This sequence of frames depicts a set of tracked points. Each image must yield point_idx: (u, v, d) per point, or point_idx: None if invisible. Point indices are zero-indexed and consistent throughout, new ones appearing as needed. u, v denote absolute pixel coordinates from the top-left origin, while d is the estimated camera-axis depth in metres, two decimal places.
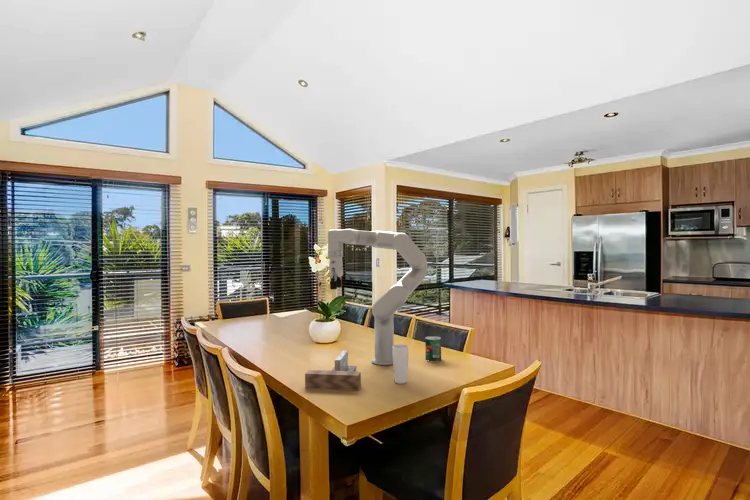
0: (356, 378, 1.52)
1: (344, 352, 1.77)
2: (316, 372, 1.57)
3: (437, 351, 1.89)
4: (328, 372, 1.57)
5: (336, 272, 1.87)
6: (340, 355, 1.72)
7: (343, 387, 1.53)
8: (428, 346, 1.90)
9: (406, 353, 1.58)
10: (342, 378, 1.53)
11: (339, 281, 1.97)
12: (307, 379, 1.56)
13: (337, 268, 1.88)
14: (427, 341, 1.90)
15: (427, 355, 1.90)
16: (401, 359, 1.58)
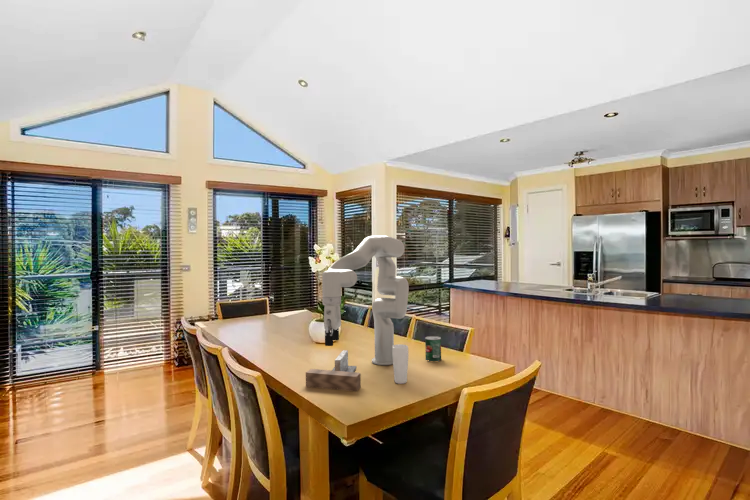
0: (354, 379, 1.51)
1: (344, 352, 1.77)
2: (317, 371, 1.58)
3: (437, 351, 1.89)
4: (328, 372, 1.57)
5: (332, 325, 1.51)
6: (340, 355, 1.72)
7: (342, 388, 1.53)
8: (428, 346, 1.90)
9: (406, 353, 1.58)
10: (341, 378, 1.53)
11: (336, 333, 1.61)
12: (307, 378, 1.57)
13: (334, 320, 1.51)
14: (427, 341, 1.90)
15: (427, 355, 1.90)
16: (401, 359, 1.58)
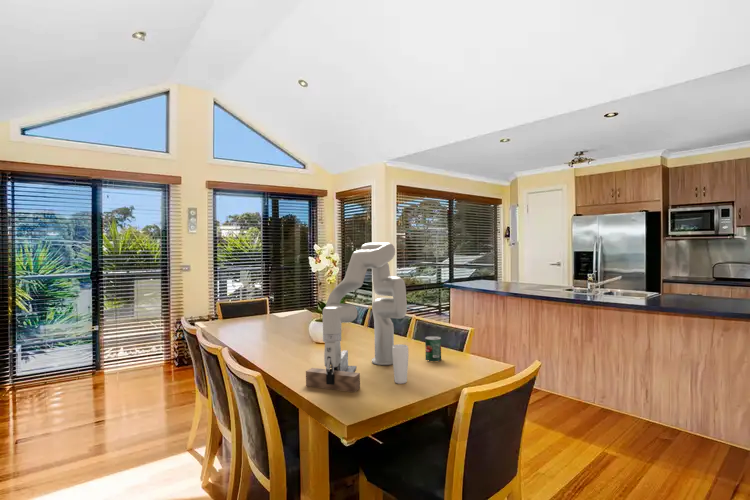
0: (353, 379, 1.50)
1: (344, 352, 1.77)
2: (317, 370, 1.58)
3: (437, 351, 1.89)
4: None
5: (333, 362, 1.51)
6: None
7: (340, 387, 1.52)
8: (428, 346, 1.90)
9: (406, 353, 1.58)
10: (340, 378, 1.52)
11: None
12: (308, 377, 1.58)
13: (334, 357, 1.51)
14: (427, 341, 1.90)
15: (427, 355, 1.90)
16: (401, 359, 1.58)
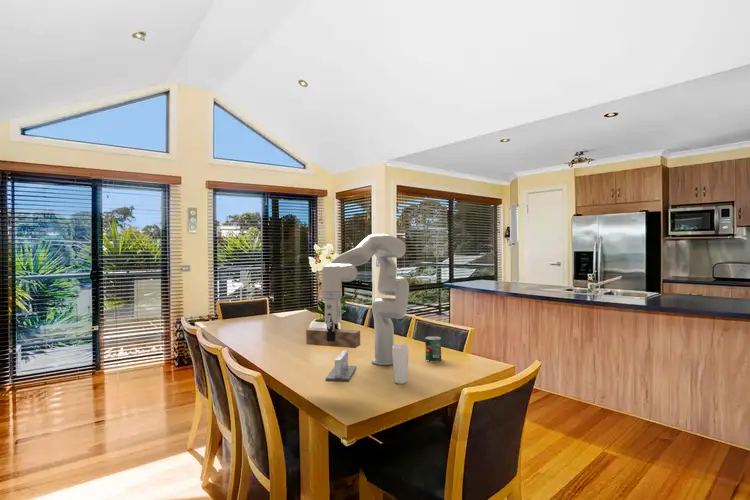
0: (353, 335, 1.51)
1: (344, 352, 1.77)
2: (317, 329, 1.59)
3: (437, 351, 1.89)
4: None
5: (333, 319, 1.52)
6: (340, 355, 1.72)
7: (341, 344, 1.53)
8: (428, 346, 1.90)
9: (406, 353, 1.58)
10: (340, 335, 1.53)
11: None
12: (308, 335, 1.58)
13: (334, 314, 1.52)
14: (427, 341, 1.90)
15: (427, 355, 1.90)
16: (401, 359, 1.58)
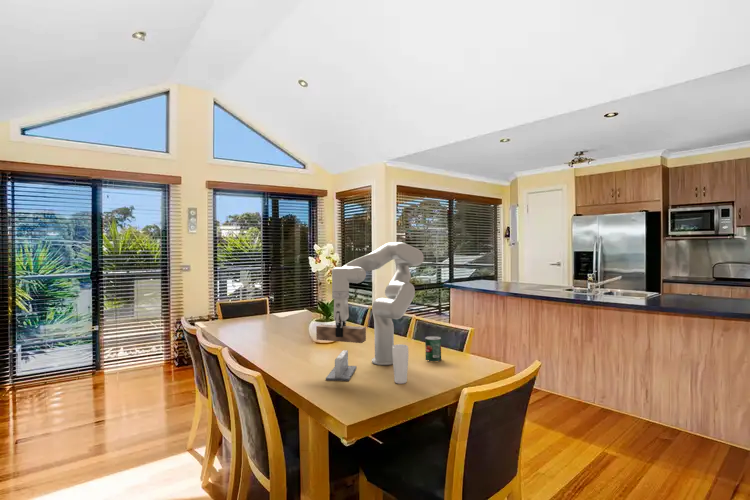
0: (360, 331, 1.66)
1: (344, 352, 1.77)
2: (326, 326, 1.74)
3: (437, 351, 1.89)
4: None
5: (341, 316, 1.67)
6: (340, 355, 1.72)
7: (348, 339, 1.68)
8: (428, 346, 1.90)
9: (406, 353, 1.58)
10: (348, 331, 1.68)
11: None
12: (318, 331, 1.73)
13: (342, 312, 1.67)
14: (427, 341, 1.90)
15: (427, 355, 1.90)
16: (401, 359, 1.58)
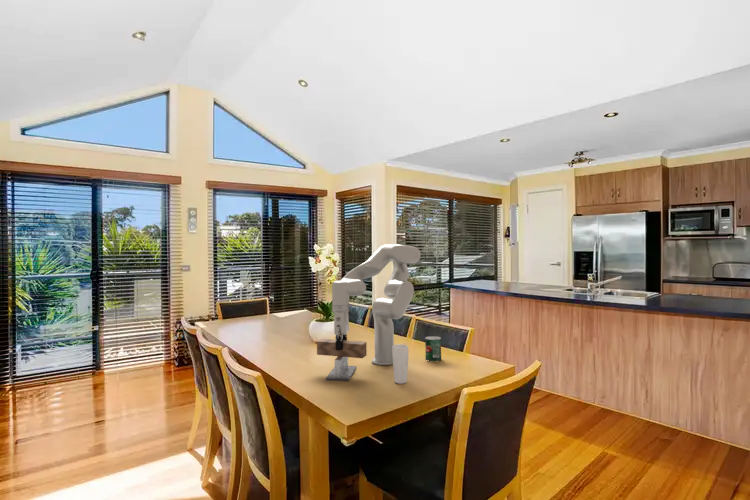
0: (361, 347, 1.67)
1: None
2: (327, 340, 1.74)
3: (437, 351, 1.89)
4: None
5: (342, 330, 1.67)
6: None
7: (349, 354, 1.69)
8: (428, 346, 1.90)
9: (406, 353, 1.58)
10: (349, 346, 1.69)
11: (344, 339, 1.76)
12: (318, 346, 1.73)
13: (343, 325, 1.67)
14: (427, 341, 1.90)
15: (427, 355, 1.90)
16: (401, 359, 1.58)
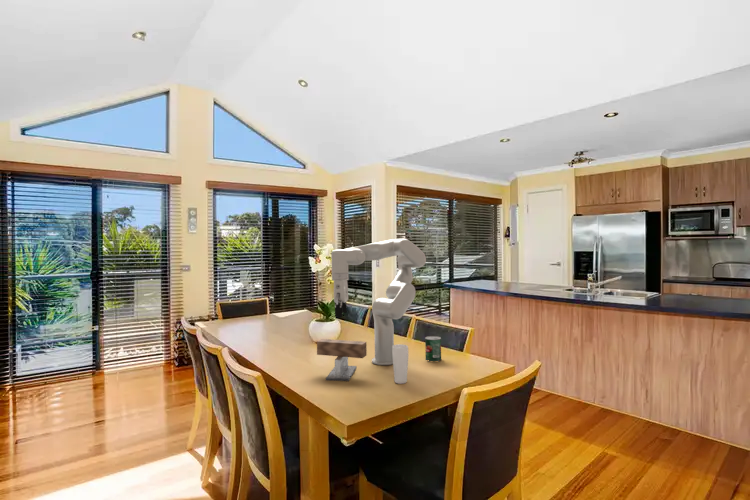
0: (361, 347, 1.67)
1: None
2: (327, 340, 1.74)
3: (437, 351, 1.89)
4: (337, 341, 1.73)
5: (341, 297, 1.69)
6: None
7: (349, 354, 1.69)
8: (428, 346, 1.90)
9: (406, 353, 1.58)
10: (349, 346, 1.69)
11: (344, 306, 1.78)
12: (318, 346, 1.73)
13: (342, 293, 1.69)
14: (427, 341, 1.90)
15: (427, 355, 1.90)
16: (401, 359, 1.58)
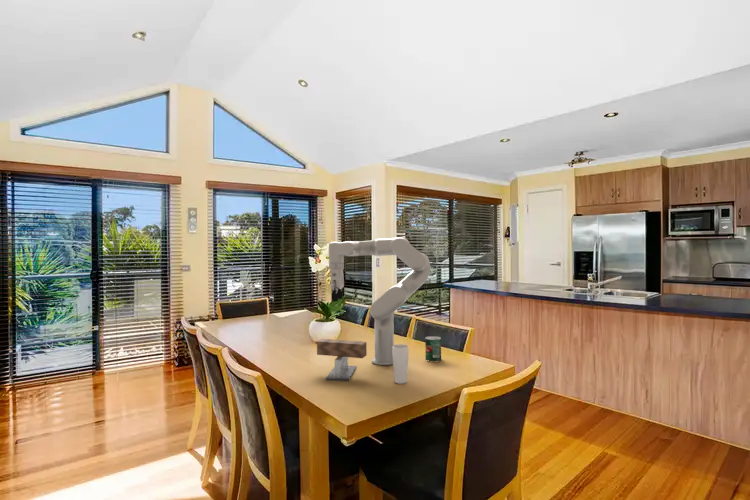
0: (361, 347, 1.67)
1: None
2: (327, 340, 1.74)
3: (437, 351, 1.89)
4: (337, 341, 1.73)
5: (337, 284, 1.90)
6: None
7: (349, 354, 1.69)
8: (428, 346, 1.90)
9: (406, 353, 1.58)
10: (349, 346, 1.69)
11: (340, 293, 1.99)
12: (318, 346, 1.73)
13: (338, 280, 1.90)
14: (427, 341, 1.90)
15: (427, 355, 1.90)
16: (401, 359, 1.58)
